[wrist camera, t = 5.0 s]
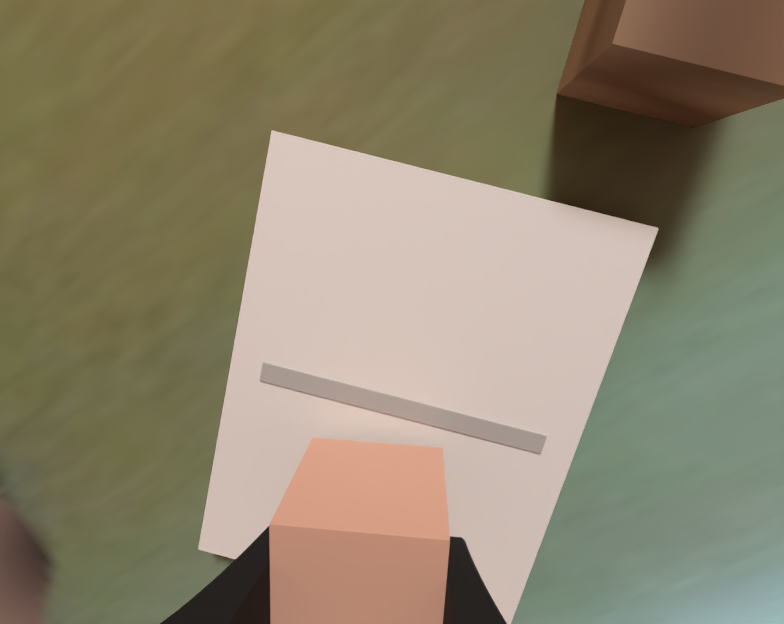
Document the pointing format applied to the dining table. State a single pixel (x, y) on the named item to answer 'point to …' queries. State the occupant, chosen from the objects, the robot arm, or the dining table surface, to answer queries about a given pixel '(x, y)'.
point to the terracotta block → (361, 536)
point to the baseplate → (419, 342)
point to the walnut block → (677, 57)
